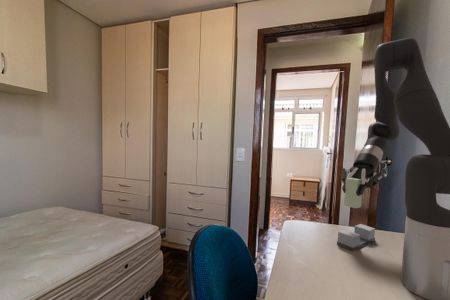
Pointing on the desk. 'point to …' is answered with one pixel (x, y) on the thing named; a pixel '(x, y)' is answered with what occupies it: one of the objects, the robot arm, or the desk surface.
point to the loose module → (352, 193)
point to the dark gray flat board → (361, 244)
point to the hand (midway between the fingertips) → (351, 192)
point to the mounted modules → (356, 235)
